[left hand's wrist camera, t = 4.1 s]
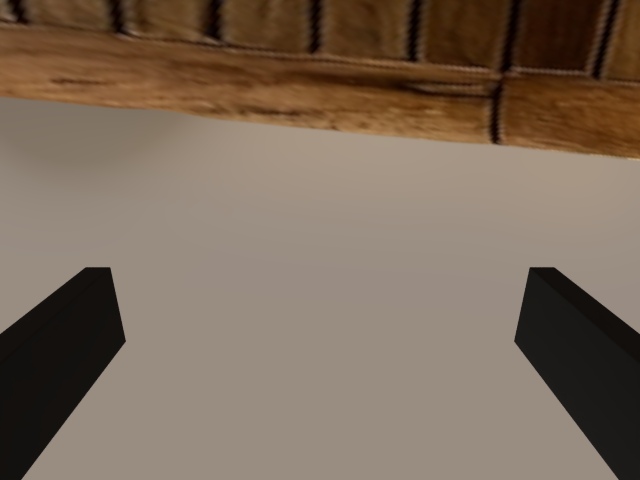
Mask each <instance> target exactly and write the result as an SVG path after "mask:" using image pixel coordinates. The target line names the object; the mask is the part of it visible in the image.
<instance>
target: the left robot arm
mask: <svg viewBox="0 0 640 480" xmlns="http://www.w3.org/2000/svg"><path fill="white" fill-rule="evenodd" d="M125 342H126V340H125V335H124V330H123V326H122V321H121V316H120V311H119V307H118V302H117V297H116V292H115V288H114V283H113V278H112V274H111V269H110V267H86V268H84V269H83V270H82V271H80V272H79V273H78V274H77V275H75V276H74V277H73V278H71V279H70V280H69V281H68V282H66V283H65V284H64V285H63V286H61V287H60V288H59V289H57V290H56V291H55V292H54V293H52V294H51V295H50V296H48V297H47V298H46V299H45V300H43V301H42V302H41V303H40V304H38V305H37V306H36V307H34V308H33V309H32V310H31V311H29V312H28V313H27V314H25V315H24V316H23V317H22V318H20V319H19V320H18V321H16V322H15V323H14V324H13V325H11V326H10V327H9V328H7V329H6V330H5V331H4V332H2V333H1V334H0V480H21V479H22V478H23V477H24V475H25V474H26V473H27V471H28V470H29V469H30V467H31V466H32V465H33V463H34V462H35V461H36V459H37V458H38V457H39V456H40V454H41V453H42V452H43V450H44V449H45V448H46V446H47V445H48V444H49V442H50V441H51V440H52V438H53V437H54V436H55V434H56V433H57V432H58V430H59V429H60V428H61V426H62V425H63V424H64V422H65V421H66V420H67V418H68V417H69V416H70V414H71V413H72V412H73V410H74V409H75V408H76V407H77V405H78V404H79V403H80V401H81V400H82V399H83V397H84V396H85V395H86V393H87V392H88V391H89V389H90V388H91V387H92V385H93V384H94V383H95V381H96V380H97V379H98V377H99V376H100V375H101V373H102V372H103V371H104V369H105V368H106V367H107V366H108V364H109V363H110V362H111V360H112V359H113V358H114V356H115V355H116V354H117V352H118V351H119V350H120V348H121V347H122V346H123V344H124V343H125ZM514 342H515V343H516V344H517V346H518V347H519V348H520V350H521V351H522V352H523V354H524V355H525V356H526V358H527V359H528V360H529V361H530V363H531V364H532V366H533V367H534V368H535V370H536V371H537V372H538V373H539V375H540V376H541V377H542V379H543V380H544V381H545V383H546V384H547V385H548V387H549V388H550V389H551V391H552V392H553V393H554V395H555V396H556V397H557V399H558V400H559V401H560V403H561V404H562V405H563V407H564V408H565V409H566V411H567V412H568V413H569V415H570V416H571V417H572V418H573V420H574V421H575V422H576V424H577V425H578V426H579V428H580V429H581V430H582V432H583V433H584V434H585V436H586V437H587V438H588V440H589V441H590V442H591V444H592V445H593V446H594V448H595V449H596V450H597V452H598V453H599V454H600V456H601V457H602V458H603V459H604V461H605V462H606V463H607V465H608V466H609V467H610V469H611V470H612V471H613V473H614V474H615V475H616V477H617V478H618V479H619V480H640V334H639V333H638V332H636V331H635V330H634V329H633V328H631V327H630V326H629V325H627V324H626V323H625V322H624V321H622V320H621V319H620V318H618V317H617V316H616V315H615V314H613V313H612V312H611V311H609V310H608V309H607V308H606V307H604V306H603V305H602V304H601V303H599V302H598V301H597V300H595V299H594V298H593V297H592V296H590V295H589V294H588V293H586V292H585V291H584V290H583V289H581V288H580V287H579V286H577V285H576V284H575V283H574V282H572V281H571V280H570V279H569V278H567V277H566V276H565V275H563V274H562V273H561V272H560V271H558V270H557V269H556V268H554V267H530V269H529V274H528V278H527V283H526V288H525V292H524V297H523V302H522V307H521V312H520V316H519V321H518V326H517V330H516V335H515V340H514Z"/></svg>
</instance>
